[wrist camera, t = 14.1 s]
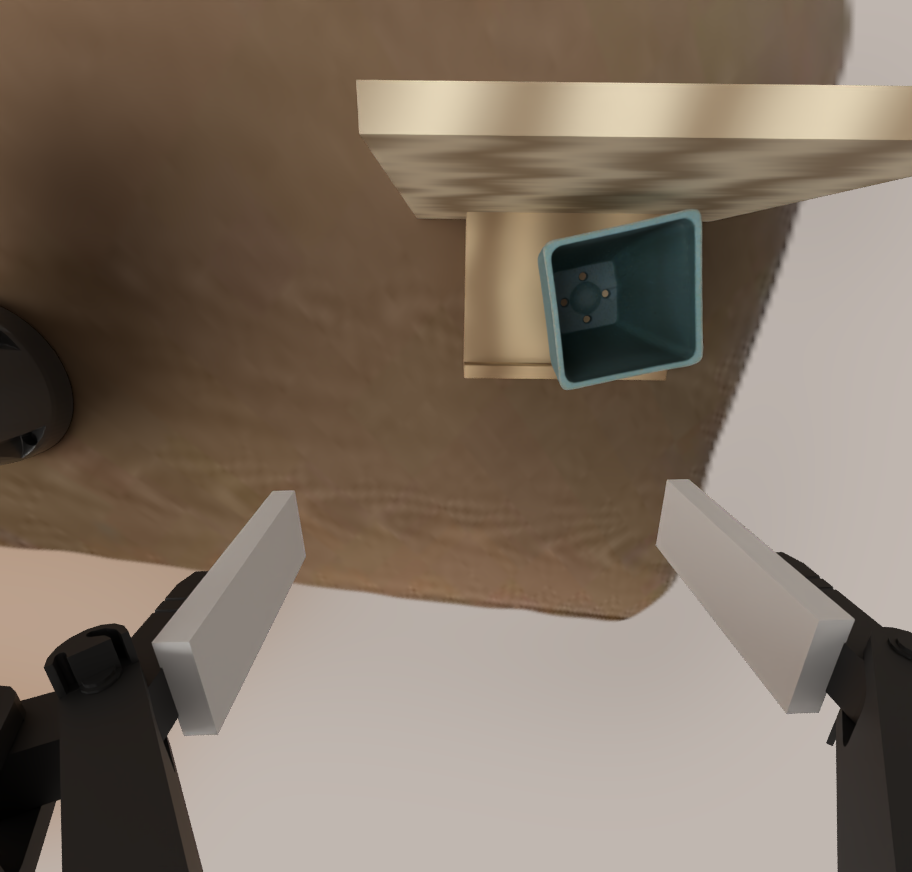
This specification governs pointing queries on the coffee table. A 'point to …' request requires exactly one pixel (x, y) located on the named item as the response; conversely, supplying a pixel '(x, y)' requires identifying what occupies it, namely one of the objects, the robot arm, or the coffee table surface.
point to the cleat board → (609, 172)
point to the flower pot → (624, 299)
